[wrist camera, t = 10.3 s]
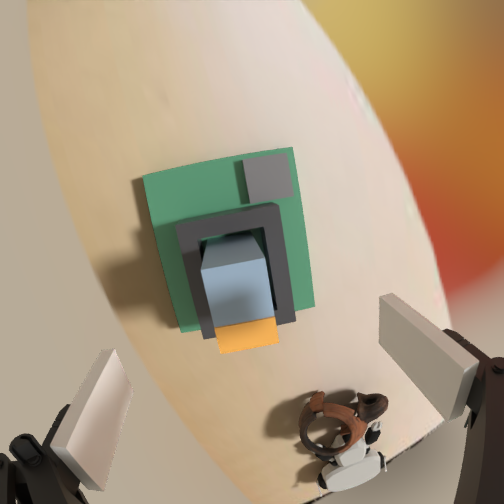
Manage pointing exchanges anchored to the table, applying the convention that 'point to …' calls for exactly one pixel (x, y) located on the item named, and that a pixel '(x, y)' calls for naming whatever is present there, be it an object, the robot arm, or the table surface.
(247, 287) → the plug
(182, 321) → the circuit board
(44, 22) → the table surface
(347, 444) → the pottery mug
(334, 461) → the robot toy
